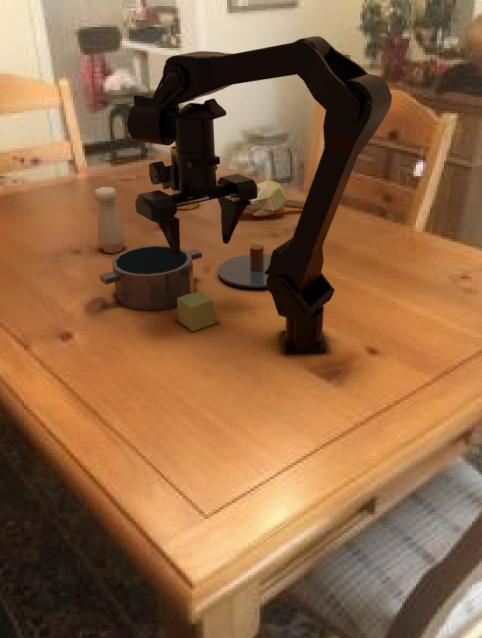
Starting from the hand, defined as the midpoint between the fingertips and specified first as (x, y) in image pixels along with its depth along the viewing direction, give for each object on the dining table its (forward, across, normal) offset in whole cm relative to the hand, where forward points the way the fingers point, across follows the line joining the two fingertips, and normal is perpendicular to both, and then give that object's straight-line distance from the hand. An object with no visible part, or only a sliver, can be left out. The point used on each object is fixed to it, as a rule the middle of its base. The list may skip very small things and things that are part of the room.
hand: (201, 249), depth 99 cm
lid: (+11, -17, -9) cm, 22 cm away
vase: (+12, -27, -54) cm, 61 cm away
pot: (+12, +3, -13) cm, 18 cm away
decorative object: (+12, -40, -35) cm, 55 cm away
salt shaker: (+12, 0, -38) cm, 40 cm away
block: (+12, +2, +1) cm, 12 cm away
